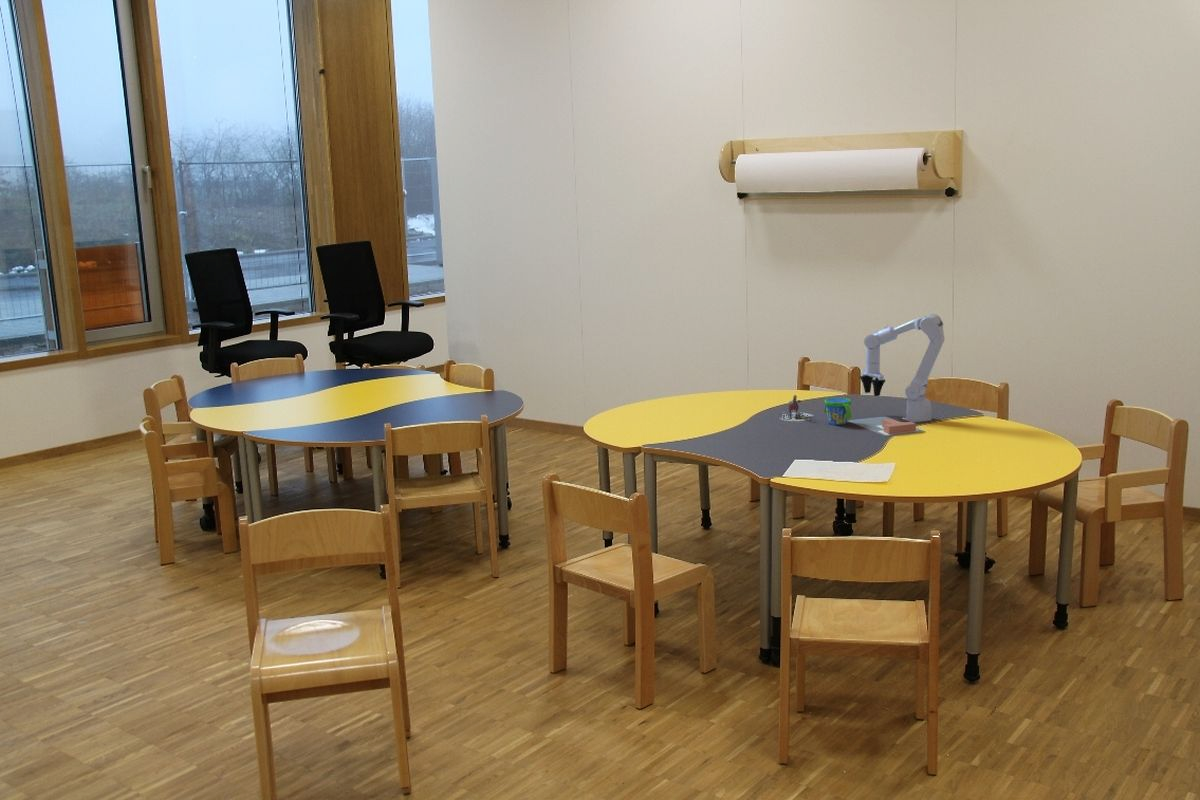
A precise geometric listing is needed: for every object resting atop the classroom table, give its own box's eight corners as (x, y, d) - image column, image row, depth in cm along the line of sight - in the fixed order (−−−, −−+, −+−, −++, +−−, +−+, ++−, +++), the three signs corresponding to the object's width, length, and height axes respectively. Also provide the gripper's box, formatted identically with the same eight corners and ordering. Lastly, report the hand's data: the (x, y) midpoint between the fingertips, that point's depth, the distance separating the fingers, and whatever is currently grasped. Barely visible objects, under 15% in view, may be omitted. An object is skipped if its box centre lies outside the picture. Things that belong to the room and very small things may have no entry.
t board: (885, 417, 474) (885, 416, 474) (925, 432, 446) (925, 431, 446) (846, 421, 469) (846, 420, 469) (885, 436, 441) (885, 435, 441)
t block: (899, 424, 458) (899, 417, 457) (915, 431, 447) (915, 423, 446) (873, 427, 455) (873, 420, 454) (888, 434, 443) (889, 426, 443)
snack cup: (858, 426, 459) (858, 402, 457) (835, 429, 456) (835, 404, 454) (839, 419, 474) (839, 395, 471) (816, 421, 471) (817, 397, 468)
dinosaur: (818, 421, 472) (818, 395, 470) (774, 422, 473) (774, 397, 470) (811, 412, 490) (811, 387, 487) (769, 413, 490) (769, 388, 488)
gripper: (855, 360, 478) (855, 392, 481) (873, 365, 464) (872, 398, 467) (870, 359, 480) (869, 390, 483) (888, 364, 466) (887, 396, 469)
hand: (872, 394), depth 475 cm, fingers open, 7 cm apart
